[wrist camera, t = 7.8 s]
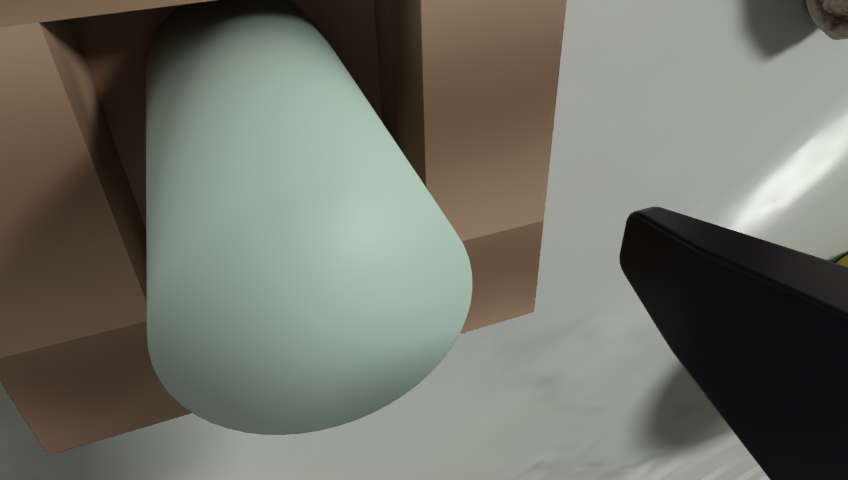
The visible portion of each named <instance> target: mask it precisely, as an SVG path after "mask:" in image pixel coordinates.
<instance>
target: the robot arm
mask: <svg viewBox="0 0 848 480" xmlns="http://www.w3.org/2000/svg"><path fill="white" fill-rule="evenodd" d="M620 264H621V268H622V270H623V272H624V274H625V276H626V278H627V279H628V281H629V282H630V284H631V286H632V287H633V289H634V291H635V292H636V294H637V295H638V297H639V299H640V300H641V302H642V304H643V305H644V307H645V308H646V310H647V312H648V313H649V315H650V317H651V318H652V320H653V321H654V323H655V325H656V326H657V328H658V330H659V331H660V333H661V334H662V336H663V338H664V339H665V341H666V342H667V344H668V345H669V347H670V348H671V350H672V351H673V353H674V354H675V356H676V357H677V358H678V360H679V361H680V362H681V364H682V365H683V366H684V368H685V369H686V370H687V372H688V373H689V374H690V376H691V377H692V378H693V379H694V381H695V382H696V383H697V385H698V386H699V387H700V389H701V390H702V391H703V393H704V394H705V395H706V396H707V398H708V399H709V400H710V402H711V403H712V404H713V406H714V407H715V408H716V409H717V411H718V412H719V413H720V415H721V416H722V417H723V419H724V420H725V421H726V422H727V424H728V425H729V426H730V428H731V429H732V430H733V432H734V433H735V434H736V435H737V437H738V438H739V439H740V441H741V442H742V443H743V445H744V446H745V447H746V449H747V450H748V451H749V452H750V454H751V455H752V456H753V458H754V459H755V460H756V462H757V463H758V464H759V465H760V467H761V468H762V469H763V471H764V472H765V473H766V475H767V476H768V477H769V478H770V480H848V267H846V266H843V265H840V264H837V263H834V262H831V261H827V260H824V259H821V258H818V257H815V256H812V255H809V254H805V253H802V252H799V251H796V250H793V249H790V248H787V247H783V246H780V245H777V244H774V243H771V242H768V241H765V240H761V239H758V238H755V237H752V236H749V235H746V234H743V233H739V232H736V231H733V230H730V229H727V228H724V227H720V226H717V225H714V224H711V223H708V222H705V221H702V220H698V219H695V218H692V217H689V216H686V215H683V214H680V213H676V212H673V211H670V210H667V209H664V208H661V207H650V208H646V209H642V210H638V211H635V212H633V213H631V214H630V215H629V217H628V218H627V221H626V226H625V231H624V236H623V241H622V246H621V251H620Z"/></svg>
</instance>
